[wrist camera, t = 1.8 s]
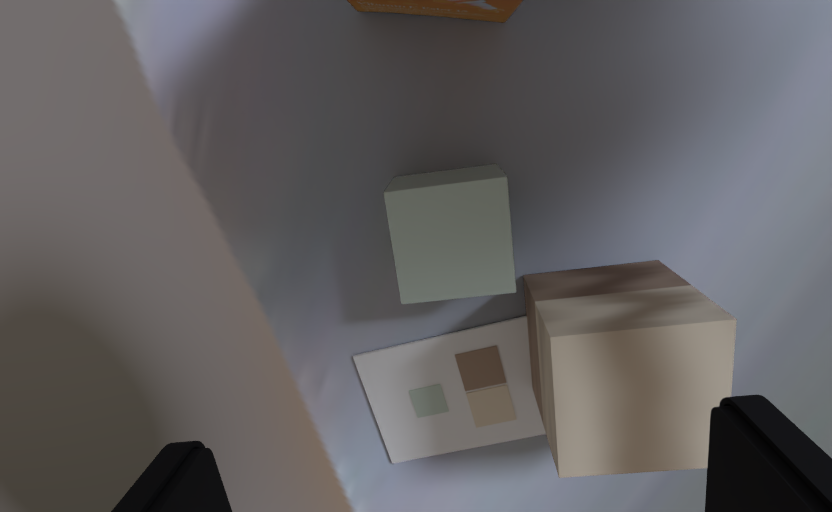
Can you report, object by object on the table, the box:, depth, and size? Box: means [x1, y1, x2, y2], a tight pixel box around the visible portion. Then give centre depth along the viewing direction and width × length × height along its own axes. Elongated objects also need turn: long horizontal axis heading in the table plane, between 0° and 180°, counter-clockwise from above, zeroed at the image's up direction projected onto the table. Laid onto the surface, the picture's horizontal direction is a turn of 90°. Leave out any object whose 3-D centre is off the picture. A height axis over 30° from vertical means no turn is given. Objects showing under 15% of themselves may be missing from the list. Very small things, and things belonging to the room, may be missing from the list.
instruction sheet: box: [353, 316, 546, 464], centre depth 32 cm, size 12×9×1 cm
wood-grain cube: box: [523, 260, 737, 478], centre depth 26 cm, size 8×8×8 cm
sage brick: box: [383, 164, 516, 304], centre depth 26 cm, size 6×6×5 cm
